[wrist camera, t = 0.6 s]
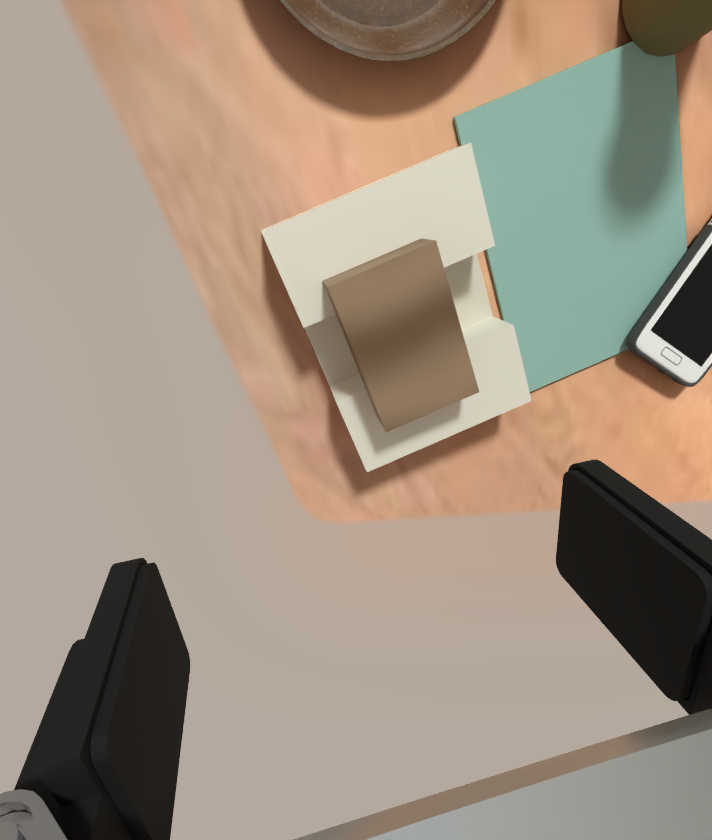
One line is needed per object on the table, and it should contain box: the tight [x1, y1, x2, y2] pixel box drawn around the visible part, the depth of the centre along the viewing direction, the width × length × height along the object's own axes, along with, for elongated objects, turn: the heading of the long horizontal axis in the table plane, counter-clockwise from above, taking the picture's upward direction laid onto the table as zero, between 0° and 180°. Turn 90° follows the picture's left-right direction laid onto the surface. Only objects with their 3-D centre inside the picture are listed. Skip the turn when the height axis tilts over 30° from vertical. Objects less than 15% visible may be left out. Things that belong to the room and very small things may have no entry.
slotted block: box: [261, 143, 531, 472], centre depth 30 cm, size 16×12×4 cm
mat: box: [453, 41, 687, 392], centre depth 32 cm, size 19×14×1 cm
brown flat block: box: [322, 238, 479, 432], centre depth 27 cm, size 9×6×2 cm, turn 21°
